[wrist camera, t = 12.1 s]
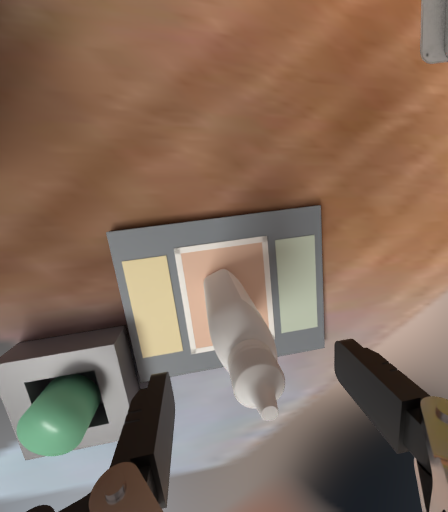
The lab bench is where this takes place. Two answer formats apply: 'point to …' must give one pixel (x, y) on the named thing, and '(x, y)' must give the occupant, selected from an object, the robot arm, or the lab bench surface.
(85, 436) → the button housing
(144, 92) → the lab bench surface
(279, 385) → the eye dropper bottle
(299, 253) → the colouring board
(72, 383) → the button
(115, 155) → the lab bench surface
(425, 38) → the emergency button
